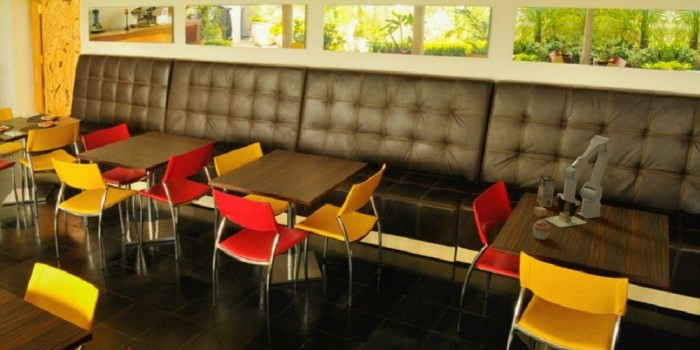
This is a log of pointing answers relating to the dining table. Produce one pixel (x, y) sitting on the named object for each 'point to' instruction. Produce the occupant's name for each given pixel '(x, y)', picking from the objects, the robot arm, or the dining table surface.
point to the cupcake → (541, 230)
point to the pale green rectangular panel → (560, 223)
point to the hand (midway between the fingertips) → (566, 213)
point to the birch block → (565, 217)
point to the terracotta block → (540, 211)
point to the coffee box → (546, 191)
